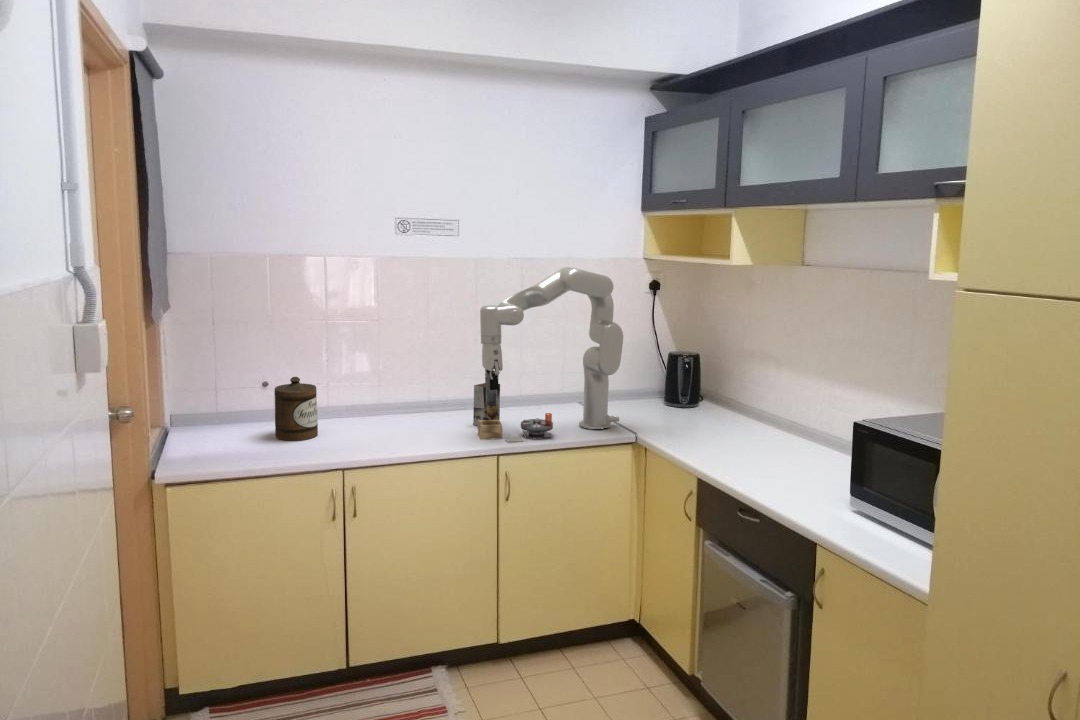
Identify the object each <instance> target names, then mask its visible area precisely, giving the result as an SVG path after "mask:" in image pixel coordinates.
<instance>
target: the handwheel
mask: <svg viewBox="0 0 1080 720" xmlns="http://www.w3.org/2000/svg"><path fill="white" fill-rule="evenodd" d="M520 429H521V430H522V431H530V432H545V431H547V432H549V431H552V430H553V429H554V422H553V414H552V413H551V412H546V413H545V418H544V419H541V418H538V417H537V418H536V417H535V418H530V419H523V420H522V421H521V422H520Z"/></svg>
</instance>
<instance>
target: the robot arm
mask: <svg viewBox="0 0 1080 720" xmlns="http://www.w3.org/2000/svg"><path fill="white" fill-rule="evenodd" d="M613 290H614V283H613V281H612V279H611V278H610V277H609V276H608V275H604V274H600V273H595V272H591V271H589V270H583V269H581V268H577V267H569V266H566V267H562V268H560V269H559V270H557V271H555V272H554V273H552V274H550V275H548V276H547V277H546V278H544V279H542V280H541V281H540V282H537V283H536V284H534V285H532V286H529V287H527V288H525V289H523V290H520V291H519V292H516V293H514V294H512V295H511V296H509V297H508V298H506V299H504V300H503V301H501V302H500V303H498V305H493V304H491V305H490V304H489V305H483V306H481V307H480V312H479V314H480V315H479V316H480V344H481V345H482V348H481V349H482V350H481V352H482V353H481V362H482V368H483V369H484V378H485V379H484V380H485V381H484V383H485V386H486V373H487V372H490V378H491V379H490V390H498V384H499V378H500V377H499V375H500V373H501V372H500V371H503V369H504V367H503V352H502V346H501V344H502V325H503V326H517V325H520V324H521V323H522V321H523V320H524V317H525V316H524V315H525V314H524V311H526V310H529V309H532V308H536V307H543V306H546V305H549V304H550V303H552V302H554V301H555V300H556V299H558V298H560V297H561V296H563V295H564V294H566V293H568V292H569V291H571V292H576V293H578V294H582V295H586V296H587V297H588V299H589V301H590V303H591V313H590V323H589V328H588V329H589V330H588V331H589V332H588V334H589V335H588V336H589V338H590V339H591V341H592V342H593V343H596V344H599V346H591V347H589V348H587V349H586V351H584V353H583V357H582V366H583V374H584V381H583V382H584V385H583V414H582V418H583V419H582V420H580V421H579V422H578V426H579V427H580V426H581V427H580V428H582V427H584V428H583V429H585V428H589V429H588V430H591V429H602V428H608V427H610V426H611V427H612V423H613V422H616V423H618V422H620V417H619V416H614V415H609V414H608V410H609V408H608V407H609V381H610V380H609V376H612V375H614V374H615V373H617V372H618V370H619V368H620V365H621V362H622V352H623V347H624V346H623V345H624V331H623V329H622V327H621V326H620V325H619V324H618V323H616V322H614V309H615V308H614V306H615V305H614V300H613V297H612V293H613ZM493 372H495V373H493ZM611 427H610V428H611ZM608 429H609V428H608Z"/></svg>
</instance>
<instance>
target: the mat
mask: <svg viewBox="0 0 1080 720" xmlns="http://www.w3.org/2000/svg"><path fill="white" fill-rule="evenodd" d="M505 439H506V440H505ZM504 440H505V442H506V441H507V442H506V443H524V439H523V437H522V436H504Z"/></svg>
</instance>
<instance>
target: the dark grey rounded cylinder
mask: <svg viewBox="0 0 1080 720" xmlns="http://www.w3.org/2000/svg"><path fill="white" fill-rule="evenodd" d="M493 373H495V372H493ZM490 379H491V378H490V372H487V373H486V405H487V406H496V405H497V390H490Z"/></svg>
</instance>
